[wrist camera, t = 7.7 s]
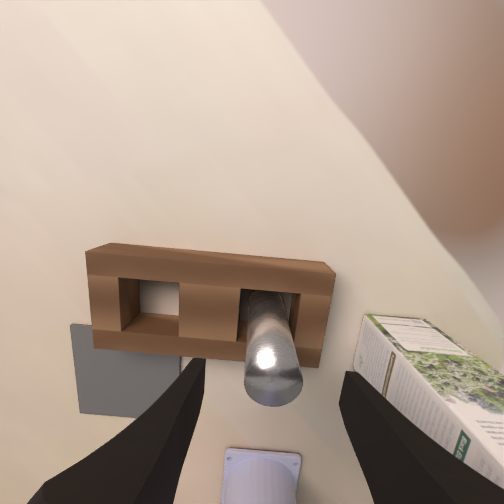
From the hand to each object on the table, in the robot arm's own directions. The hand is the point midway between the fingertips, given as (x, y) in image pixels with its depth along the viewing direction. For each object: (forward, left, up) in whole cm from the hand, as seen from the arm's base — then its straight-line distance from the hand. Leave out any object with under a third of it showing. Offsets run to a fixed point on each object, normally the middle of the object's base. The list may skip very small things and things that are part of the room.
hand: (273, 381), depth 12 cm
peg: (0, 0, -9) cm, 9 cm away
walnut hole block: (0, +5, -9) cm, 10 cm away
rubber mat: (-9, +13, -9) cm, 18 cm away
